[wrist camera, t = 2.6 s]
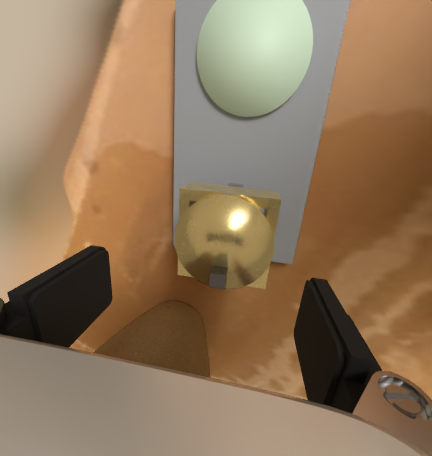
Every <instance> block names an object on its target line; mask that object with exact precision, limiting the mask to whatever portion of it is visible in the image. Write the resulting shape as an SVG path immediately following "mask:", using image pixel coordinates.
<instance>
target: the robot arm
mask: <svg viewBox="0 0 432 456" xmlns="http://www.w3.org/2000/svg"><path fill="white" fill-rule="evenodd" d="M8 297H9V300H10V301H9V302H7V303H5V304H4V301H3V300H2V299H1V298H0V456H432V400H431V399H430V397H429V396H428V395H427V394H426V393H425V392H424V391H423V390H422V389H420V388H419V387H418V386H417V385H415V384H414V383H412V382H411V381H410V380H408V379H406V378H404V377H402V376H400V375H398V374H395V373H392V372H389V371H382V369H381V368H380V366H379V364H378V363H377V361H376V359H375V358H374V356H373V354H372V353H371V351H370V349H369V348H368V346H367V344H366V343H365V341H364V339H363V338H362V336H361V334H360V333H359V331H358V329H357V327H356V326H355V324H354V322H353V321H352V319H351V318H350V316H349V315H347V314H346V312H345V311H344V309H343V307H342V305H341V304H340V302H339V300H338V299H337V297H336V295H335V293H334V292H333V290H332V288H331V287H330V285H329V283H328V281H327V280H324V279H317V278H311V280H310V281H308V280H307V281H306V283H305V287H304V291H303V295H302V299H301V303H300V307H299V312H298V316H297V320H296V324H295V328H294V340H295V344H296V349H297V353H298V358H299V362H300V367H301V371H302V376H303V380H304V385H305V389H306V394H307V398H308V400H305V399H301V398H297V397H293V396H289V395H284V394H280V393H275V392H271V391H267V390H262V389H258V388H254V387H250V386H245V385H240V384H236V383H231V382H227V381H222V380H218V379H213V378H208V377H204V376H199V375H195V374H190V373H186V372H181V371H176V370H172V369H167V368H162V367H158V366H153V365H148V364H143V363H139V362H134V361H129V360H125V359H120V358H115V357H110V356H106V355H101V354H96V353H91V352H86V351H82V350H77V349H72V348H69V347H70V346H71V345H72V344H73V343H74V342H75V341H76V339H77V338H78V337H79V336H80V335H81V334H82V333H83V332H84V331H85V330H86V329H87V328H88V327H89V326H90V325H91V324H92V323H93V322H94V321H95V320H96V318H97V317H98V316H99V315H100V314H101V313H102V312H103V311H104V310H105V309H106V308H107V307H108V306H109V305H110V303H111V301H112V287H111V276H110V265H109V254H108V251H106V249H105V248H104V247H99V246H89V247H87V248H86V249H84V250H82V251H80V252H79V253H77V254H75V255H73V256H71V257H70V258H68V259H66V260H64V261H63V262H61V263H59V264H57V265H55V266H54V267H52V268H50V269H48V270H47V271H45V272H43V273H41V274H40V275H38V276H36V277H34V278H32V279H31V280H29V281H27V282H25V283H24V284H22V285H20V286H18V287H17V288H15V289H13V290H11V291H9V292H8Z"/></svg>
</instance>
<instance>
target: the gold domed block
mask: <svg viewBox="0 0 432 456" xmlns="http://www.w3.org/2000/svg"><path fill="white" fill-rule="evenodd" d="M280 205H281V197H280V195H279V193H278V191H272V190H263V189H253V188H244V187H234V186H224V185H215V184H205V183H196V182H191V183H189V184H187V185H185V186H183V187H181V188H179V221H178V224H177V226H176V230H175V237H174V241H175V249H176V253H177V256H178V275H182V276H188V277H194V278H195V279H197V280H198V281H200V282H202V283H204V284H206V285H208V286H209V287H213V288H219V289H235V288H240V287H244V286H248V287H254V288H260V289H265V288H266V283H267V277H268V272H269V266H270V263H271V261H272V258H273V254H274V239H275V233H276V228H277V222H278V217H279V211H280ZM260 209H265V210H264V213H263V212H262V211H261V210H260Z"/></svg>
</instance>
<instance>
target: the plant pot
mask: <svg viewBox="0 0 432 456" xmlns="http://www.w3.org/2000/svg"><path fill="white" fill-rule="evenodd" d="M94 353H96V354H101V355H106V356H110V357H115V358H120V359H125V360H129V361H134V362H139V363H143V364H148V365H153V366H158V367H162V368H167V369H172V370H176V371H181V372H186V373H190V374H195V375H199V376H204V377H208V378H210V367H209V357H208V349H207V342H206V336H205V330H204V325H203V321H202V319H201V317H200V315H199V314H198V313H197V311H195V310H194V309H193V308H192V307H190V306H189V305H187V304H185V303H182V302H178V301H166V302H163V303H160V304H158V305H157V306H155V307H153V308H152V309H150V310H149V311H147V312H146V313H144V314H143V315H141V316H140V317H138V318H137V319H135V320H134V321H133V322H131V323H130V324H129V325H127V326H126V327H125V328H123V329H122V330H121V331H119V332H118V333H117V334H116V335H114V336H113V337H112V338H111V339H109V340H108V341H107V342H106V343H105V344H104V345H102V346H101V347H100V348H99V349H98V350H96V351H95V352H94Z"/></svg>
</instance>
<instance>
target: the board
mask: <svg viewBox="0 0 432 456" xmlns="http://www.w3.org/2000/svg"><path fill="white" fill-rule="evenodd" d="M349 4H350V0H176V6H175V102H174V198H173V247H175V241H174V237H175V230H176V226H177V224H178V221H179V188H181V187H183V186H185V185H187V184H189V183H191V182H196V183H205V184H215V185H224V186H234V187H244V188H253V189H263V190H272V191H278V193H279V195H280V197H281V205H280V211H279V217H278V222H277V228H276V233H275V239H274V254H273V258H272V262H279V263H286V264H292V263H293V259H294V254H295V250H296V245H297V240H298V236H299V231H300V227H301V222H302V218H303V213H304V209H305V204H306V199H307V195H308V190H309V186H310V181H311V177H312V172H313V168H314V163H315V159H316V154H317V149H318V145H319V140H320V136H321V131H322V127H323V122H324V118H325V113H326V109H327V104H328V99H329V95H330V90H331V86H332V81H333V77H334V72H335V68H336V63H337V59H338V54H339V49H340V45H341V40H342V36H343V31H344V27H345V22H346V18H347V13H348V9H349ZM260 210H261V211H262V212H263V213H264V210H265V209H260Z"/></svg>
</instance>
